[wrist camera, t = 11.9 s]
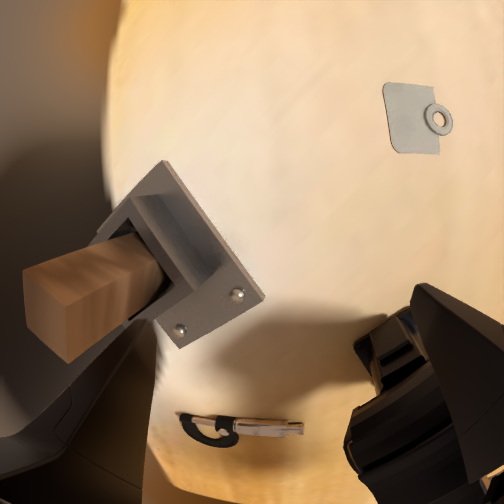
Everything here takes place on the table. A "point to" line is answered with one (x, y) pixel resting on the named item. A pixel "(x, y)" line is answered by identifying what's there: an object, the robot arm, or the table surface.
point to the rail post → (90, 292)
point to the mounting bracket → (414, 118)
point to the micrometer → (238, 429)
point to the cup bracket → (182, 258)
